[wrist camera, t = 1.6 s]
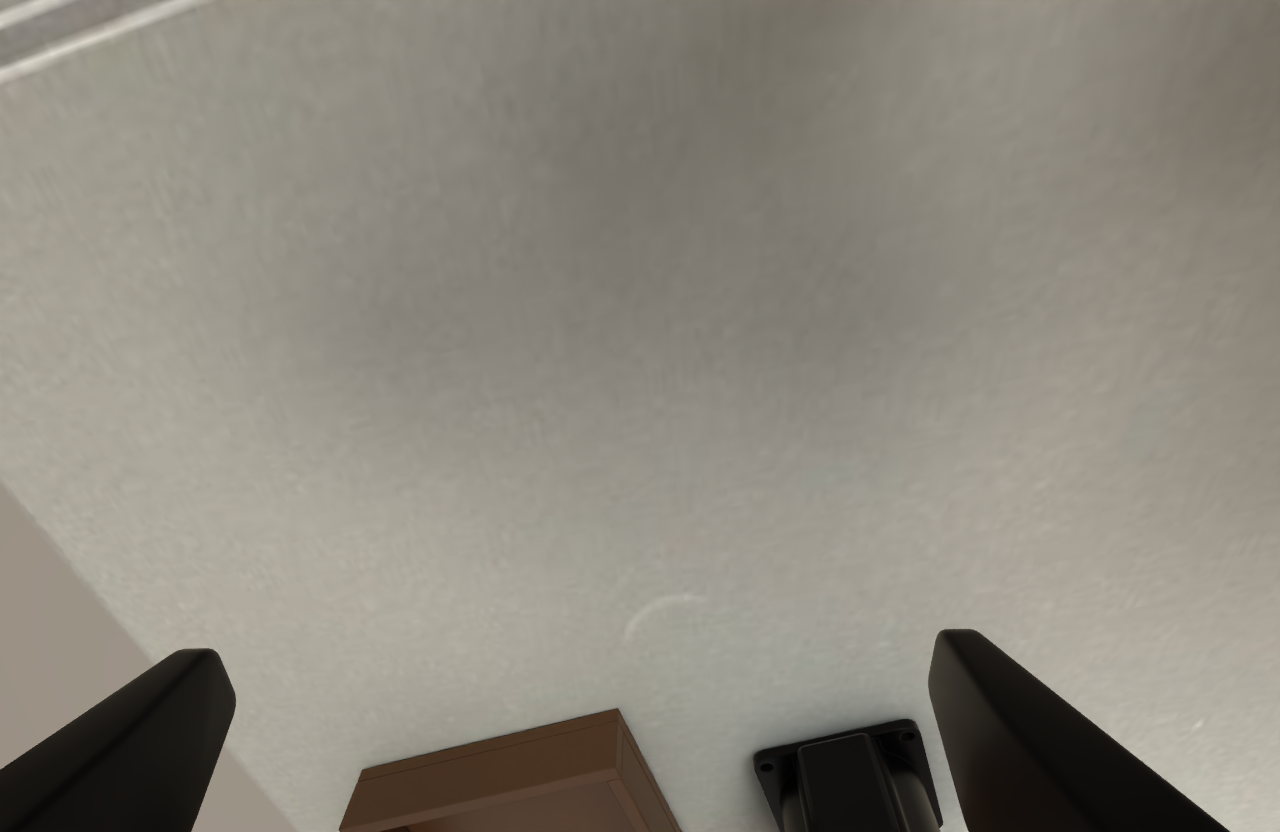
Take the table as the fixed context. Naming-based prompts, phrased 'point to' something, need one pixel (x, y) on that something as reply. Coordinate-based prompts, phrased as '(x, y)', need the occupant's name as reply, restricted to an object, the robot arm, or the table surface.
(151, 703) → the robot arm
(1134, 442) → the table surface
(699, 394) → the table surface
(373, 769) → the tray
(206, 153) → the table surface
